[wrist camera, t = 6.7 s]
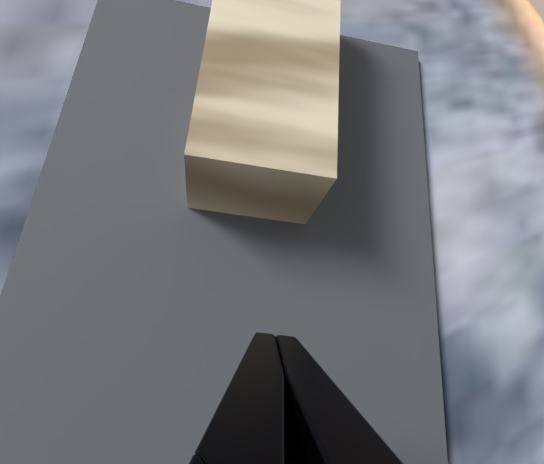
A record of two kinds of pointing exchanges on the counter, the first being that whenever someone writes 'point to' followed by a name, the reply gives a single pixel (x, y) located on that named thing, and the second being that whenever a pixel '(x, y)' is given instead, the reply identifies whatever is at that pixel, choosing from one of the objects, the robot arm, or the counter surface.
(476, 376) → the counter surface
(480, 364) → the counter surface
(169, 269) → the rubber mat
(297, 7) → the birch block
